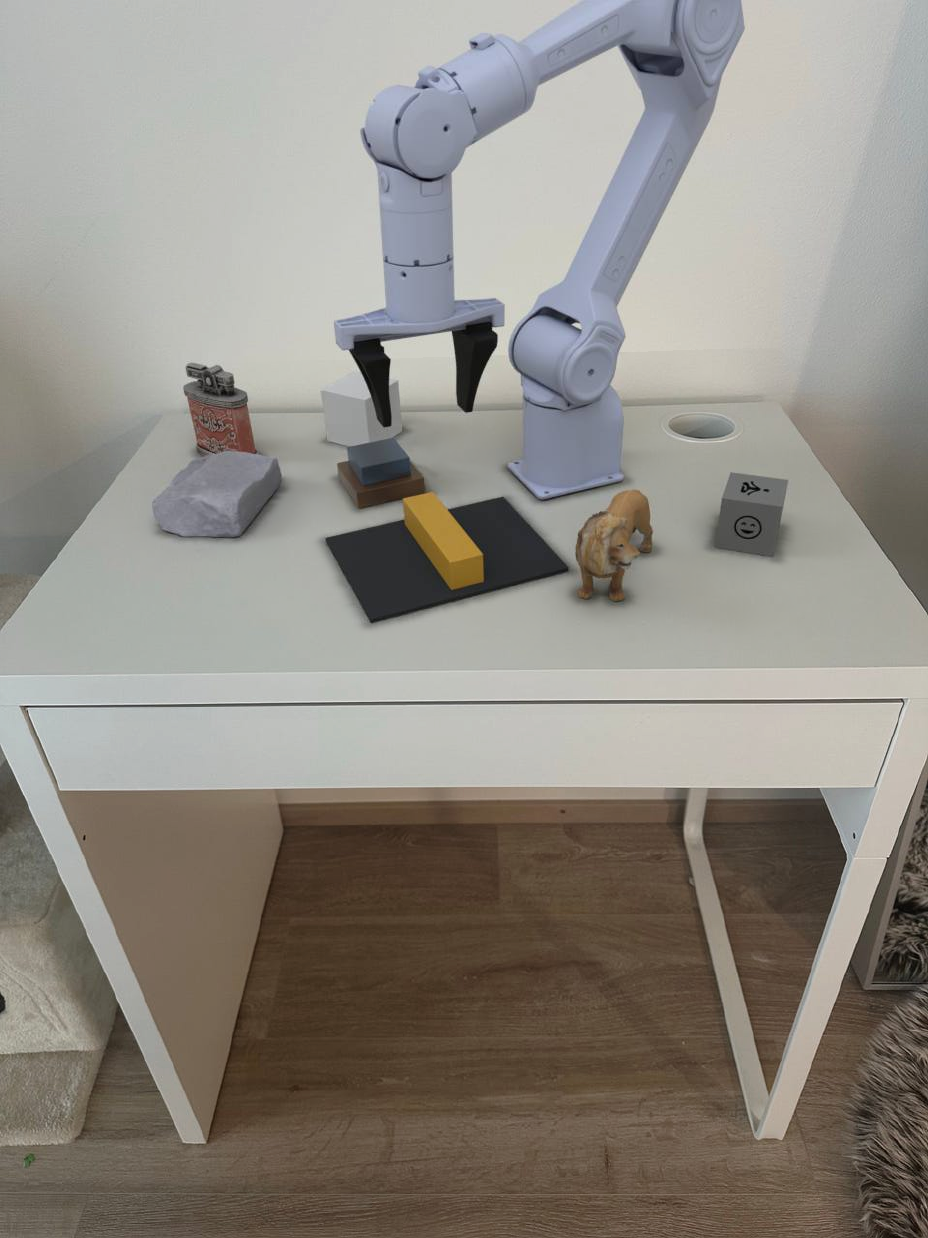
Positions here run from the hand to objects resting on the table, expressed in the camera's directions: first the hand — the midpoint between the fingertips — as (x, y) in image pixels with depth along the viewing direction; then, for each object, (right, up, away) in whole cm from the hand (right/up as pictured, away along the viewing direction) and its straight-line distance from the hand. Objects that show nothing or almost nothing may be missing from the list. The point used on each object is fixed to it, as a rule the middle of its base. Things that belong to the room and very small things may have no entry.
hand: (425, 415), depth 83 cm
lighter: (-22, -1, +19) cm, 29 cm away
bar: (+2, -12, 0) cm, 12 cm away
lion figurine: (+16, -15, -4) cm, 23 cm away
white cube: (-8, +2, +21) cm, 23 cm away
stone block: (-21, -7, +9) cm, 24 cm away
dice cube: (+29, -11, +1) cm, 31 cm away
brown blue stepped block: (-5, -5, +12) cm, 13 cm away
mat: (+2, -13, +1) cm, 13 cm away
